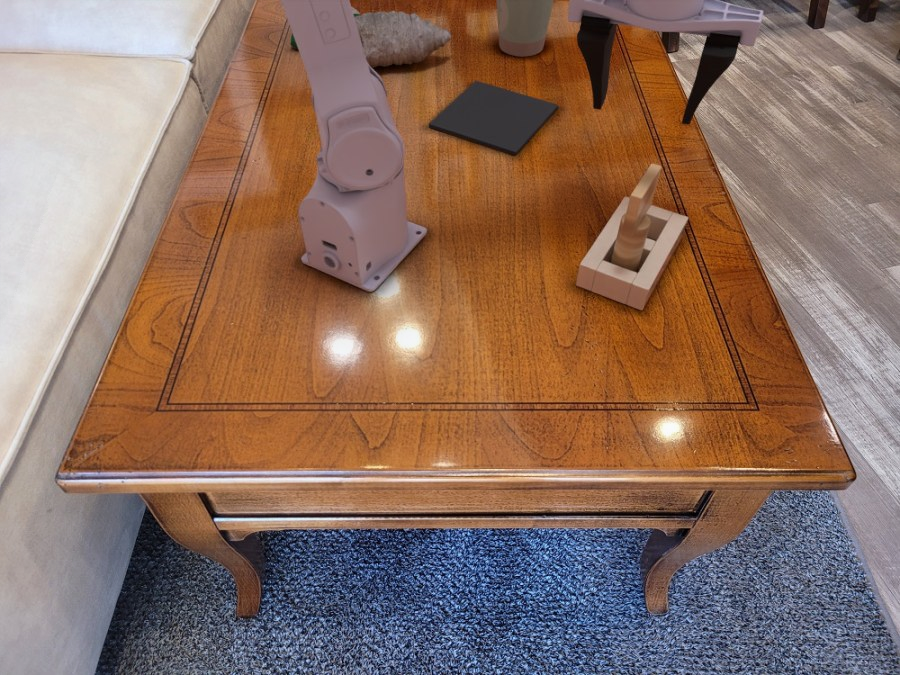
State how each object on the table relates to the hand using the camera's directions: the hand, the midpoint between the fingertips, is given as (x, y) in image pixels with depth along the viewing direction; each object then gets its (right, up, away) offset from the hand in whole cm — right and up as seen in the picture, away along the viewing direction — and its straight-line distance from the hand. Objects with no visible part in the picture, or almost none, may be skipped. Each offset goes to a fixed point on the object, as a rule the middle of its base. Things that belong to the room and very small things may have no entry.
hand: (642, 110), depth 59 cm
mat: (-12, +5, +18) cm, 22 cm away
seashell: (-24, +15, +27) cm, 39 cm away
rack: (0, -13, +3) cm, 13 cm away
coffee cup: (-8, +18, +30) cm, 36 cm away
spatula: (-2, -14, +1) cm, 15 cm away
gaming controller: (-33, +19, +30) cm, 48 cm away
